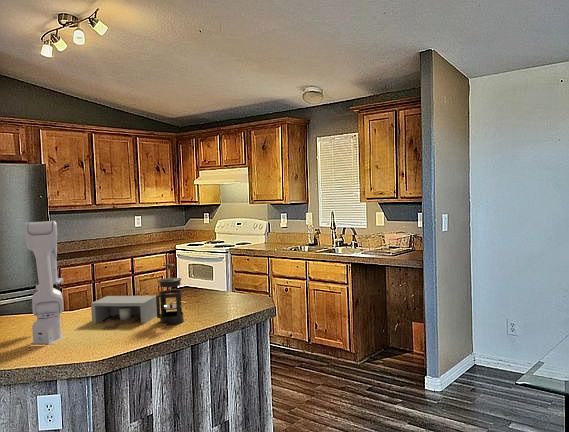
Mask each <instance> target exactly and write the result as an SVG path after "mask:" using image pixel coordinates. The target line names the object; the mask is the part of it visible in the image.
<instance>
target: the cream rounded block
mask: <svg viewBox="0 0 569 432" xmlns="http://www.w3.org/2000/svg"><path fill="white" fill-rule="evenodd" d="M119 314H120V320H130V319H131V307H122V308H119Z"/></svg>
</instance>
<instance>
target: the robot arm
mask: <svg viewBox="0 0 569 432" xmlns="http://www.w3.org/2000/svg"><path fill="white" fill-rule="evenodd" d="M57 223H58V222H56V220H52V221H51V220H50V221H49V220H48V221H31V222H28V221H26V222H25V224H24V225H23V226H24V227H23V228H24V238H25V246H26V247H27V248H26V249H27V250H29V251H31V252H32V253H33V256H34V257H35V262H36V263H35V264H36V271H37V278H38V279H37V280H38V284H36V285H35V291H36V292H35V293H33V295H32V297H31V302H32V303H31V309H32V315H33V316H34V317H36V320H35V321H34V322H33V324H32V327H31V328H32V329H31V330H32V342H31V344H53V343H55V342H57V341H59V340H61V339H63V338H65V337H66V336H67V335H63V334H62V328H61V314H62V313H63V312H64V299H63V298H64V297H63V294H62V293H63V292H61V291H60V289H61V285H59V284H64V278H63V277H58V265H57V264H58V263H57V262H58V261H57V258H58V255H57V253H58V224H57Z"/></svg>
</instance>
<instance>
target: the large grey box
mask: <svg viewBox="0 0 569 432" xmlns="http://www.w3.org/2000/svg"><path fill="white" fill-rule="evenodd" d="M156 296H157V295H106V296H104V297H102V298H99V299H98V300H97V299H96V300H94V301H93V302H91V303H90V309H91V324H92V325H96V324H99V323H100V322H102V321H105V319H106V320H107V318H108V319H109V318H110V317H113V316H115V315H120V314H119V308H122V307H131V315H141V318H140V324H141V325H142V324H143V325H145V324H147V323H149V322H150V321H151V320H154V318H157V306H156Z"/></svg>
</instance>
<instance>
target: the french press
mask: <svg viewBox="0 0 569 432" xmlns="http://www.w3.org/2000/svg"><path fill="white" fill-rule="evenodd" d="M174 266H175V264H174V263H165V264H163V267H167V270H168V275H169V276H168V277H166V278H161V279H157V282H158V284H159V287H160V288H169V289H167V290H162V291H159V292H158V294H157V295H155V296H156V306H157V316H156V318H157V319H160V320H159V321H160V324H164V325H165V326H175V325H180V324H182V323H184V322H185V319H184V312H183V311H182V310H183V309H182V306H183V304H182V295H183V291H182V290H181V289H172V288H174V287H179V286H181V281H182V278H180V277H171V267H174ZM172 298H175V303H173V301H172ZM167 299H170V302H169V303H167Z"/></svg>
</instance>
